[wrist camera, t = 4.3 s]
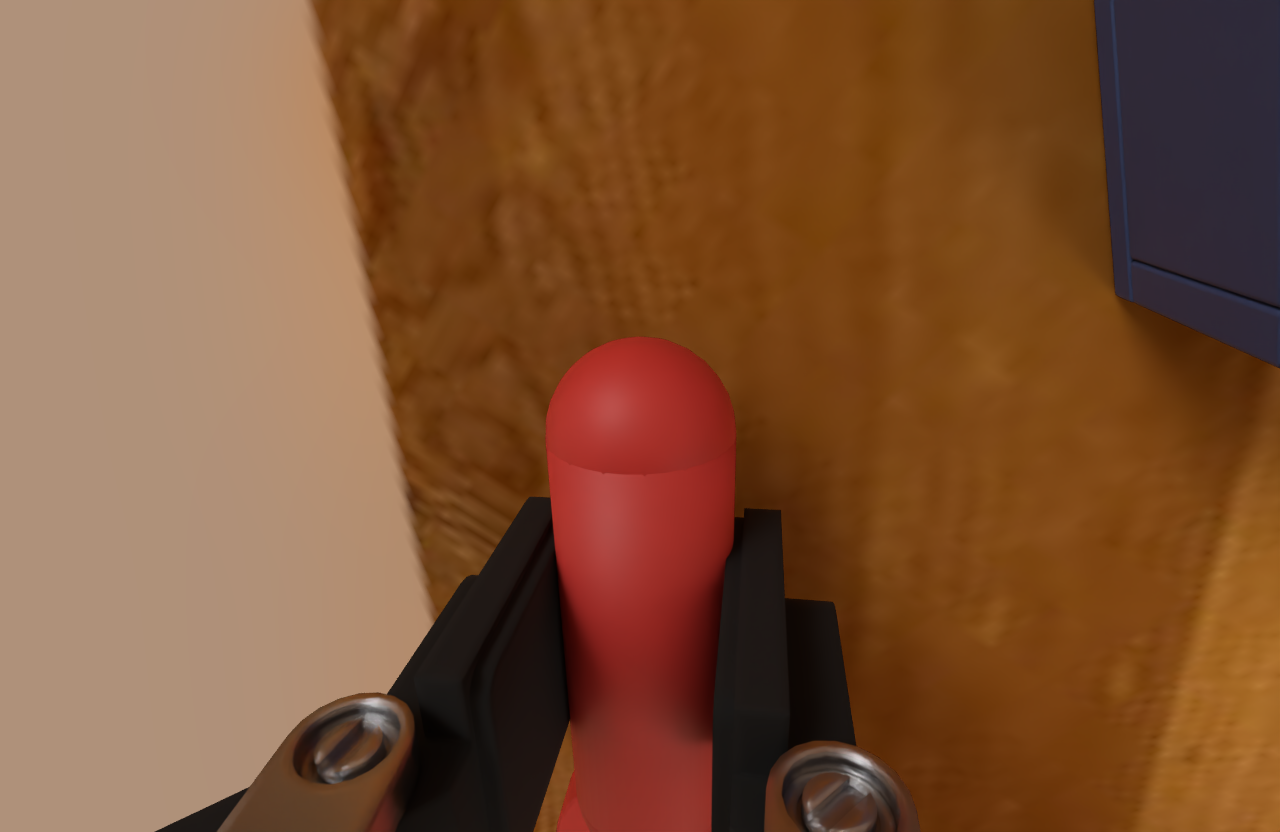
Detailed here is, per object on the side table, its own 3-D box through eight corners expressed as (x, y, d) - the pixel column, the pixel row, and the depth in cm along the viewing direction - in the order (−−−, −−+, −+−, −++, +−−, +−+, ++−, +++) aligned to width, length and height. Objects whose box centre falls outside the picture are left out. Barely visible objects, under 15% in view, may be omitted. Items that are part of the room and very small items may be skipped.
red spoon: (525, 314, 10) (455, 368, 8) (787, 317, 9) (795, 376, 7) (575, 859, 14) (540, 995, 12) (758, 885, 13) (757, 1033, 11)
